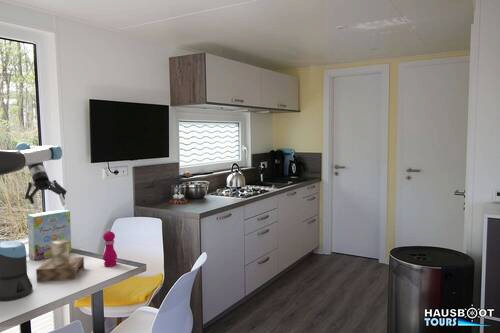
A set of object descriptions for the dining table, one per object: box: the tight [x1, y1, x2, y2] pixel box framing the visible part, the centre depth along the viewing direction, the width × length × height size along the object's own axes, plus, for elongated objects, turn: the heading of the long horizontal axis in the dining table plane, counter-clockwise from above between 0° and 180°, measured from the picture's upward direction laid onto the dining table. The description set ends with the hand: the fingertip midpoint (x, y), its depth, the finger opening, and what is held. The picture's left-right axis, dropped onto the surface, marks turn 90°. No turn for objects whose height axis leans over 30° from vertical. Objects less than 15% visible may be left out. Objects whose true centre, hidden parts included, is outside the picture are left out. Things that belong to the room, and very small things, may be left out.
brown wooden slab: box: [35, 256, 85, 283], centre depth 199 cm, size 18×16×6 cm
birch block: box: [51, 240, 70, 266], centre depth 198 cm, size 6×6×11 cm
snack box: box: [27, 209, 72, 261], centre depth 230 cm, size 22×9×26 cm, turn 143°
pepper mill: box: [102, 228, 118, 268], centre depth 212 cm, size 7×7×20 cm
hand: (50, 206), depth 205 cm, fingers open, 13 cm apart
